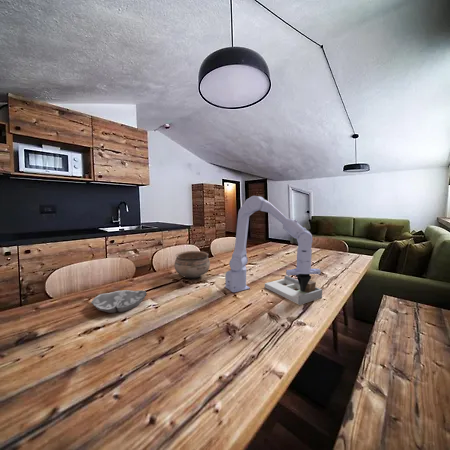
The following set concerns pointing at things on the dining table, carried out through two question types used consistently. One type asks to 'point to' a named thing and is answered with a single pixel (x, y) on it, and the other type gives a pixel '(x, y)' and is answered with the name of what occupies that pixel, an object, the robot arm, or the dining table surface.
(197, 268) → the cooking pot
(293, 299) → the board
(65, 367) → the dining table surface
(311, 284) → the walnut block
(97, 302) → the brain slice
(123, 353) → the dining table surface
